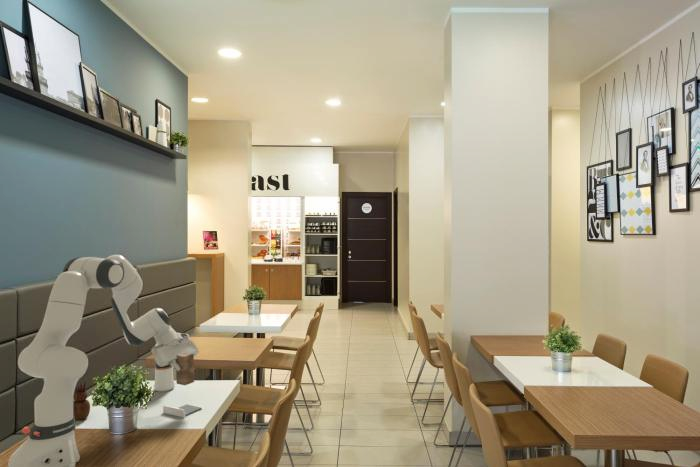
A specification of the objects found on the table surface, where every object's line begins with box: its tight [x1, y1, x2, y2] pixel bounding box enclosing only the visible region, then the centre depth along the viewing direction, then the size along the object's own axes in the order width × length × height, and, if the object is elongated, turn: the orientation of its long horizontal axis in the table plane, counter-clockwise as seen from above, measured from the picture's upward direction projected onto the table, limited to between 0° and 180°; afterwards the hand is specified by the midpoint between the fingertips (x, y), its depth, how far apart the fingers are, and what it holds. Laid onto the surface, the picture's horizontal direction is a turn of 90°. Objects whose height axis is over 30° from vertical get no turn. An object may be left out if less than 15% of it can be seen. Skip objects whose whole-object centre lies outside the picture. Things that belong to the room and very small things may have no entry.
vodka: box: [153, 343, 176, 393], centre depth 243 cm, size 9×9×30 cm
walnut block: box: [175, 353, 195, 386], centre depth 213 cm, size 5×5×12 cm
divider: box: [162, 404, 186, 419], centre depth 209 cm, size 1×12×3 cm, turn 61°
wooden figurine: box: [73, 381, 91, 421], centre depth 206 cm, size 7×6×15 cm
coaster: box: [178, 403, 202, 417], centre depth 213 cm, size 9×9×1 cm
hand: (186, 367), depth 213 cm, fingers closed on walnut block, 5 cm apart
